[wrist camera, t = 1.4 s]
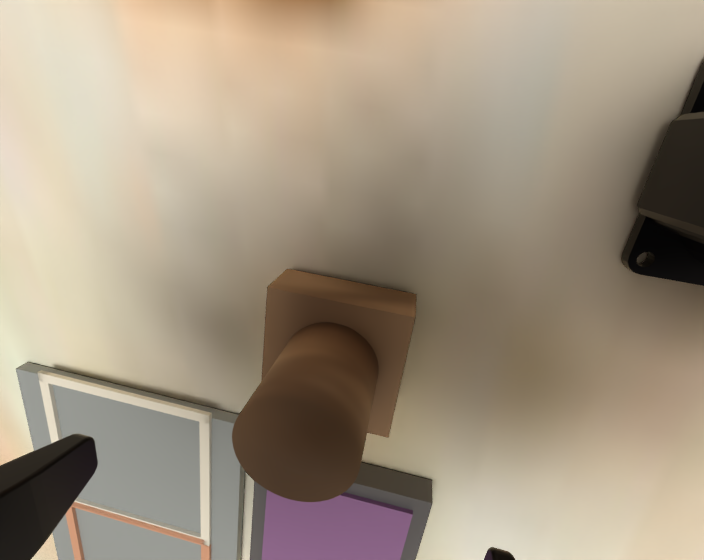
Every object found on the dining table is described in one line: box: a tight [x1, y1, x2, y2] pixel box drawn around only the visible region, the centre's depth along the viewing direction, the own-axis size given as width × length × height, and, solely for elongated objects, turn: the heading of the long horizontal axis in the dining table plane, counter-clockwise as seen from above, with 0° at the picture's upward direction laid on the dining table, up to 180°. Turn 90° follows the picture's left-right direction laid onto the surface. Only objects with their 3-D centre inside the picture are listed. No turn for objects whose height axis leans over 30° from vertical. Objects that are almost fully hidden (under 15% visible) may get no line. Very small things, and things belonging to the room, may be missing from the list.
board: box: [16, 362, 245, 560], centre depth 21 cm, size 12×18×1 cm
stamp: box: [232, 269, 417, 502], centre depth 13 cm, size 5×5×6 cm
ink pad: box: [250, 462, 432, 560], centre depth 19 cm, size 8×9×1 cm
